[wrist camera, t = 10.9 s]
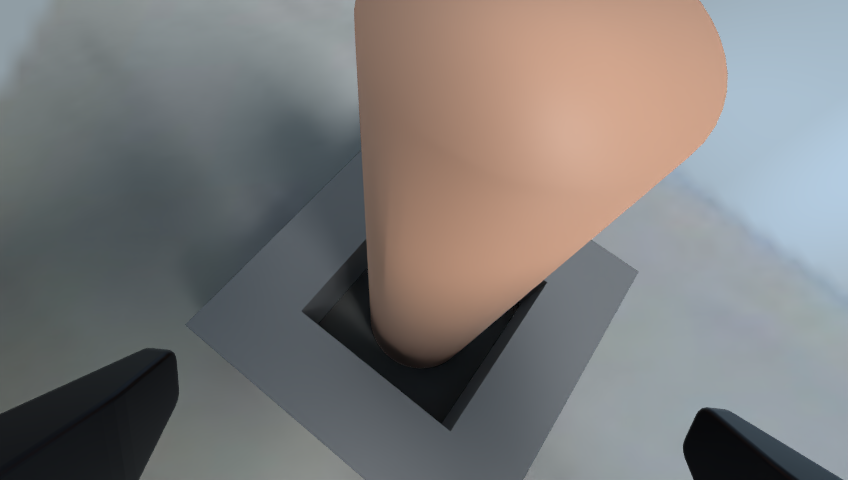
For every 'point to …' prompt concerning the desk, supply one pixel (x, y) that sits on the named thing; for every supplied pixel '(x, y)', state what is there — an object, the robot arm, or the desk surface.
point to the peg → (513, 145)
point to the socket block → (371, 393)
